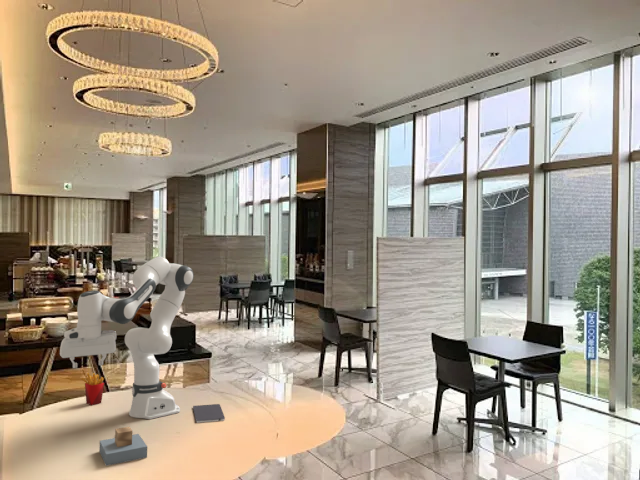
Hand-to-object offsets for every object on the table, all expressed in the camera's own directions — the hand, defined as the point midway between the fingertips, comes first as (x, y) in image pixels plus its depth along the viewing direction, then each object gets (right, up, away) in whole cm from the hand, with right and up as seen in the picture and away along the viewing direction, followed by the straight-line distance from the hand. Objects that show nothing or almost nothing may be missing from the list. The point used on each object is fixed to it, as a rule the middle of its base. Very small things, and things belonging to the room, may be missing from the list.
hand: (88, 366), depth 193 cm
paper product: (+41, -32, +32) cm, 61 cm away
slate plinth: (+20, -29, -14) cm, 38 cm away
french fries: (-18, -30, +41) cm, 54 cm away
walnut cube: (+20, -25, -14) cm, 35 cm away
